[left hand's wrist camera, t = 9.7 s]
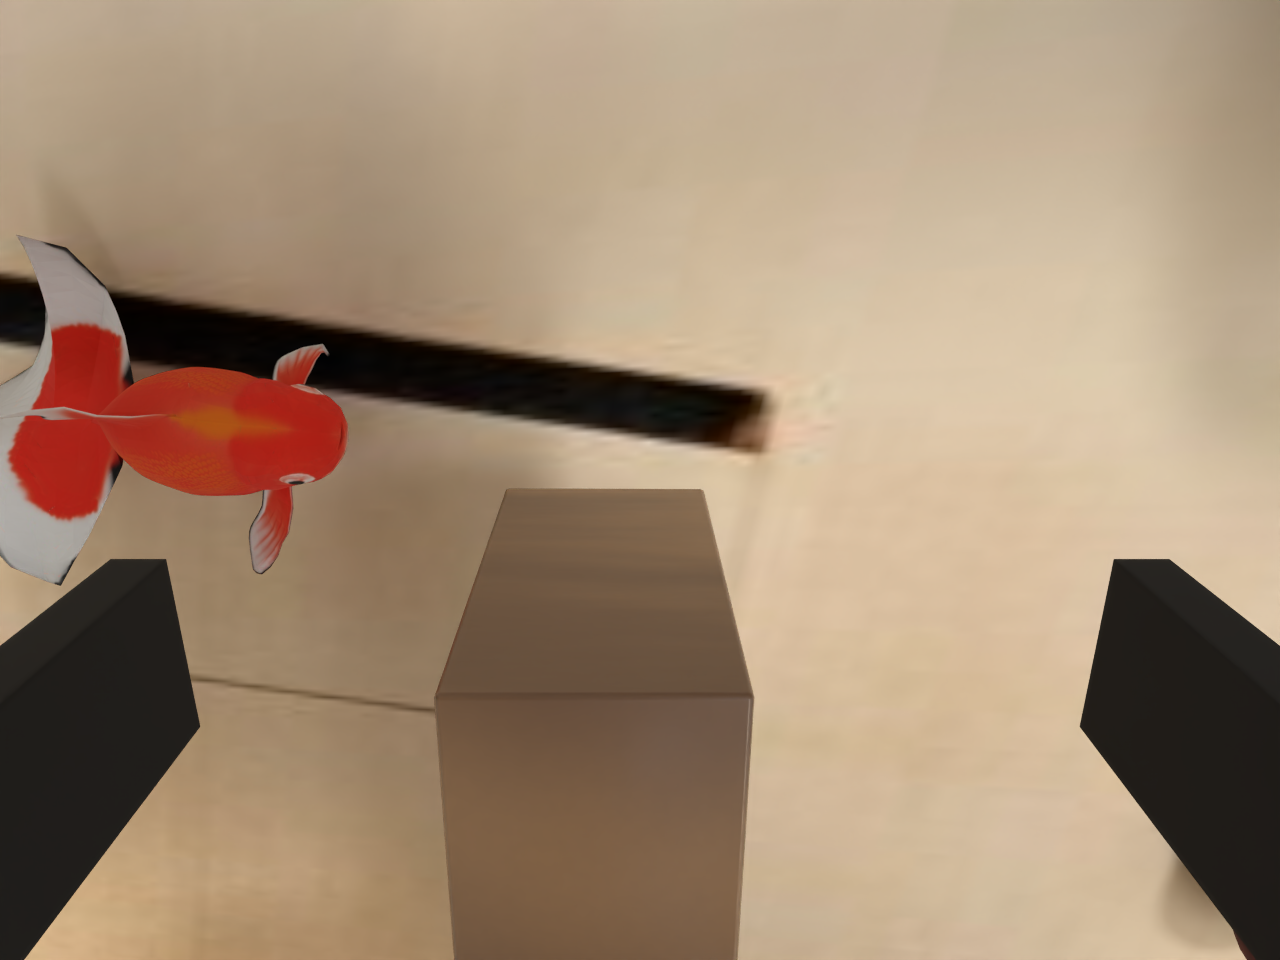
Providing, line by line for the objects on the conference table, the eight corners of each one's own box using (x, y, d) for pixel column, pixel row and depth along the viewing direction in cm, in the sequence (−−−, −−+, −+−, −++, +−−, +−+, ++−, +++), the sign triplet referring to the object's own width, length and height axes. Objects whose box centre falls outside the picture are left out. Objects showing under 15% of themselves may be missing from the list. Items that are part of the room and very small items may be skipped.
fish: (343, 678, 32) (99, 716, 22) (40, 521, 36) (-267, 498, 27) (452, 393, 32) (256, 308, 22) (135, 274, 37) (-137, 164, 27)
